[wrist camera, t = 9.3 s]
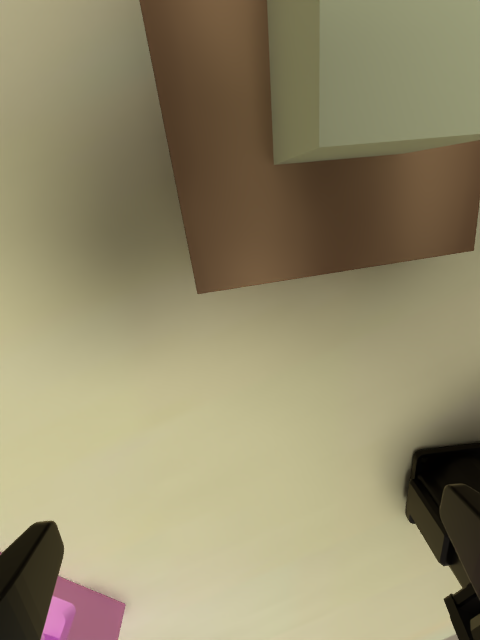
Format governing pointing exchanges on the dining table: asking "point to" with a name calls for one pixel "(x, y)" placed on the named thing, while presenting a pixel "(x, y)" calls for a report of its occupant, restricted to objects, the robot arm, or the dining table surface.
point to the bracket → (81, 614)
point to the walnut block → (285, 166)
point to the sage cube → (372, 77)
